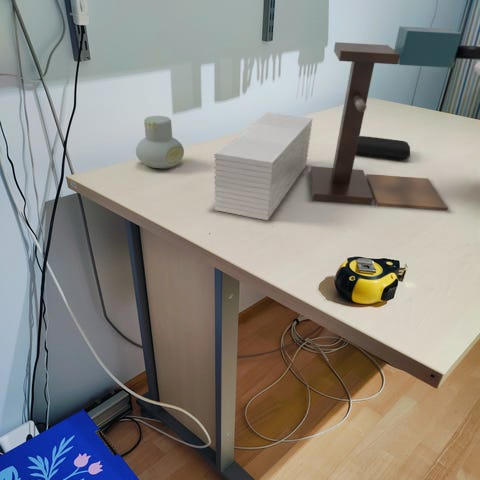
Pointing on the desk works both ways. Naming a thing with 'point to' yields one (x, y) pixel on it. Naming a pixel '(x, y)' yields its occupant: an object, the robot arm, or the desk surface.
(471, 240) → the desk surface
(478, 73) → the robot arm
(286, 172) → the stack of papers
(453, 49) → the stamp
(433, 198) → the cork mat
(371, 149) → the carrying case
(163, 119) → the air freshener
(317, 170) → the holder stand
